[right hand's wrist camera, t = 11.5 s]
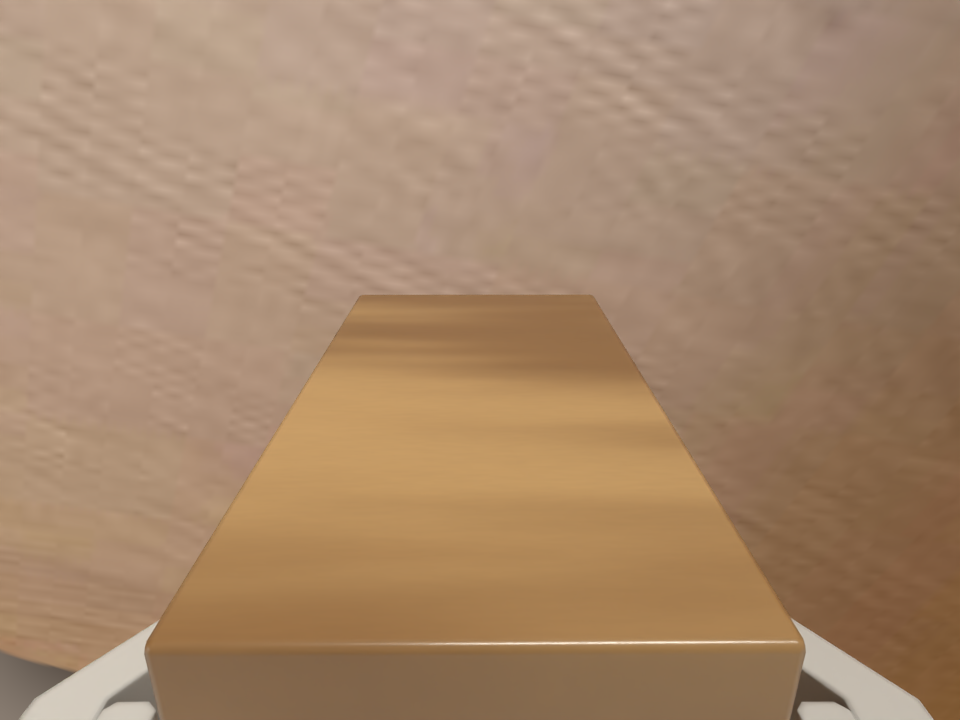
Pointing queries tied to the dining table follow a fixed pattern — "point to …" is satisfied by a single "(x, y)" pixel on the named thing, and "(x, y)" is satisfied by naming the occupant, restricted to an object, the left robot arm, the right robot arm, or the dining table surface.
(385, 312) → the bar
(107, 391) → the dining table surface
